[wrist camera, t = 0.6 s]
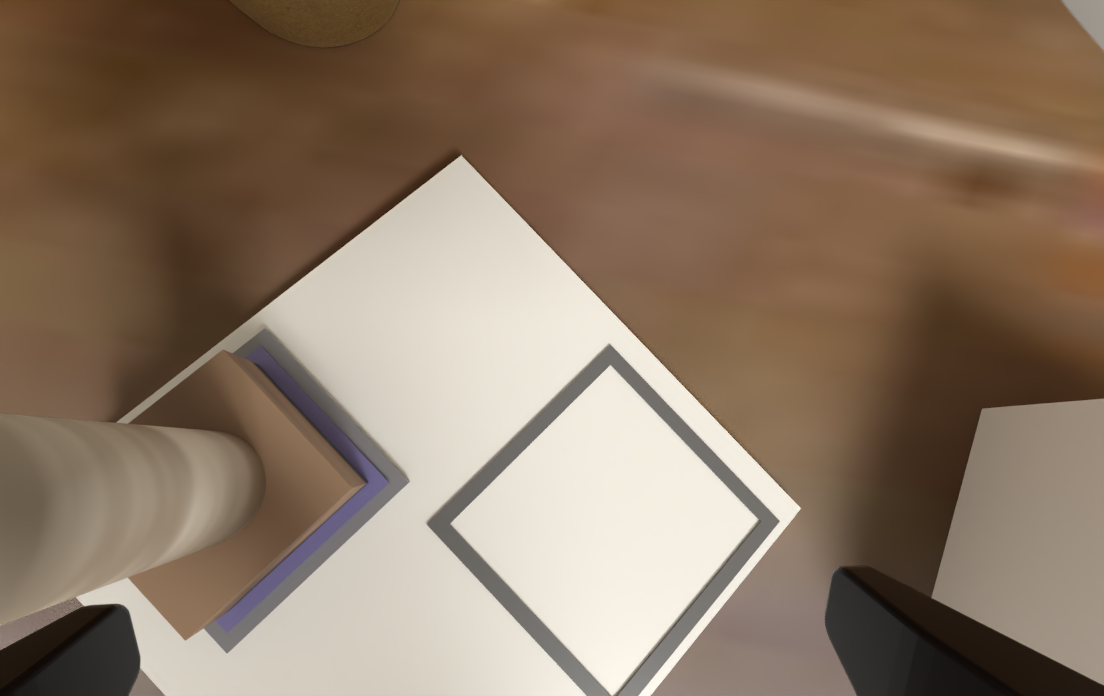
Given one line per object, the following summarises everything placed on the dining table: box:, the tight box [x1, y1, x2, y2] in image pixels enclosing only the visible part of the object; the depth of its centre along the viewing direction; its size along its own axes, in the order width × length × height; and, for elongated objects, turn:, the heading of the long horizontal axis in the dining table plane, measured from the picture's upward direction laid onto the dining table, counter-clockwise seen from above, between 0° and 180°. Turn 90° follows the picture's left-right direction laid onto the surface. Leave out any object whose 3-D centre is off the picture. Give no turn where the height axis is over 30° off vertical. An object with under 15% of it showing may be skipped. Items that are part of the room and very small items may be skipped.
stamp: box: [0, 350, 369, 641], centre depth 13 cm, size 6×6×12 cm
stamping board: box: [76, 155, 801, 696], centre depth 21 cm, size 21×21×1 cm
